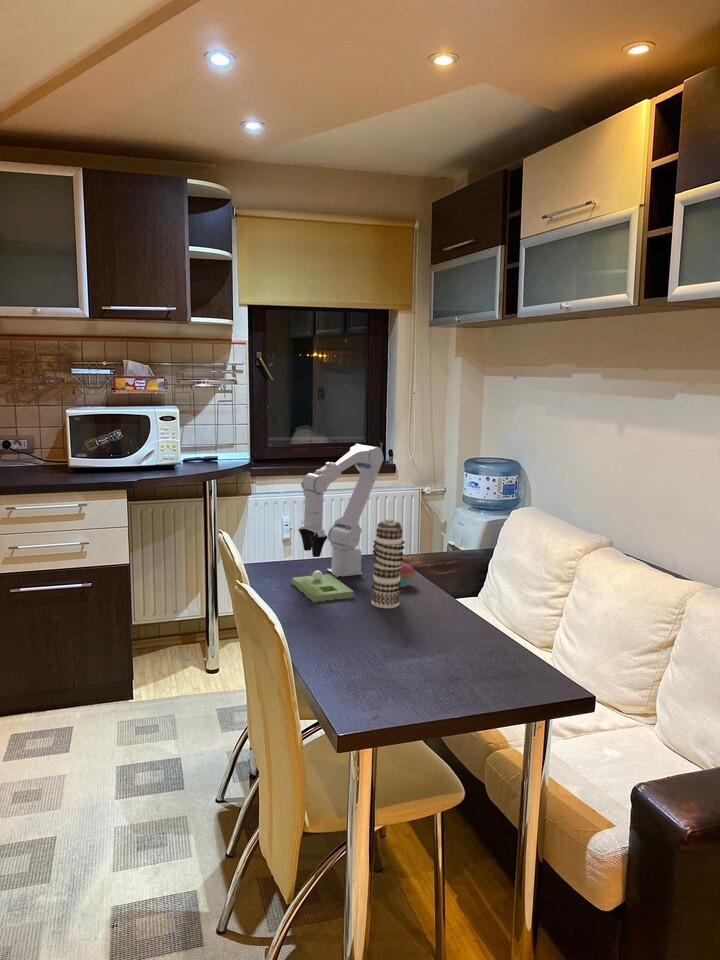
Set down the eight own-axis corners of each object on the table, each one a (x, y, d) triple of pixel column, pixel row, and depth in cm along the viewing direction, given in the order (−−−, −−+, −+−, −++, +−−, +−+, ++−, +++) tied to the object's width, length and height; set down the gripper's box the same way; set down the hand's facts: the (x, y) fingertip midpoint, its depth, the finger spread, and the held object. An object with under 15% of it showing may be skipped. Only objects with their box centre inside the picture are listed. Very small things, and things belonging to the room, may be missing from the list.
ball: (319, 578, 228) (320, 568, 227) (323, 581, 225) (324, 571, 224) (310, 579, 226) (310, 569, 226) (314, 582, 224) (314, 572, 223)
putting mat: (329, 579, 233) (329, 573, 233) (353, 597, 217) (353, 591, 217) (291, 583, 228) (292, 577, 227) (313, 602, 212) (313, 595, 211)
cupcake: (382, 581, 234) (384, 546, 232) (405, 579, 238) (408, 544, 235) (395, 590, 226) (397, 553, 224) (418, 587, 230) (421, 551, 228)
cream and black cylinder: (401, 609, 209) (406, 526, 205) (369, 607, 209) (374, 524, 205) (400, 599, 218) (405, 518, 214) (370, 597, 218) (374, 517, 214)
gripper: (293, 507, 231) (292, 548, 233) (310, 517, 218) (308, 560, 221) (313, 506, 234) (312, 546, 237) (331, 516, 221) (329, 558, 224)
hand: (311, 553), depth 229 cm, fingers open, 7 cm apart
